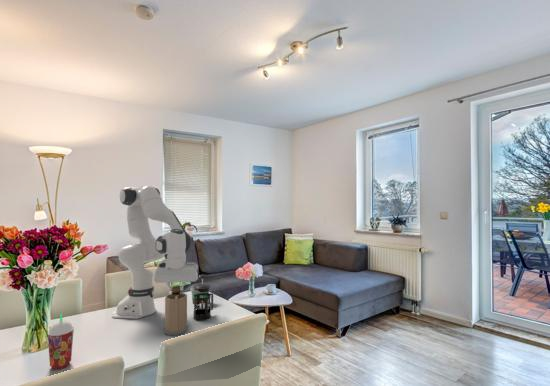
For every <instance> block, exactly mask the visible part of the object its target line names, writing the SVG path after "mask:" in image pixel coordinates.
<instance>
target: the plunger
mask: <svg viewBox="0 0 550 386" xmlns="http://www.w3.org/2000/svg"><path fill="white" fill-rule="evenodd" d="M171 287H172V291H171V292H172V293H171V294H173V295H175V299H177V295H178V294H180V293H181V291H180V287H181V285H179V284H175V285H172V286H171Z"/></svg>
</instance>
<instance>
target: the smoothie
mask: <svg viewBox="0 0 550 386" xmlns="http://www.w3.org/2000/svg"><path fill="white" fill-rule="evenodd" d="M59 315H60V316H59V317H60V318H59V320H58V321H56V322H54V323H53V324H52V326H50V328H49V330H48V332H47V342H48V343H47V344H48V356H49V358H48V359H49V366H50V367H51V369H52V370H61V368H62V369H64V368H67V367H69V365H70V362H71V361H72V355H73V343H74V342H73V341H74V340H73V339H74V329H75V328H74V326H73V325H72V323H71V322H70V321H69V320H65V319H63V313H60V314H59Z"/></svg>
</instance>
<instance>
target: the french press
mask: <svg viewBox="0 0 550 386" xmlns="http://www.w3.org/2000/svg"><path fill="white" fill-rule="evenodd" d="M204 277H207V274H200V275H198V278H201V283H200V284H196V285H194V286H193V287H194V288H195V290H198V291H199V292H201V293H199V294H195V295H194V304H193V318H192V319H193V320H194V321H196V322H203V321H204V322H205V321H207V320H210V319H211V318H212V315H211V314H212V313H211V312H212V311H213V310H214V293H212V292H210V291H211V285H210V284H208V283H207V284H206V283H205V284H204V282H203V281H204ZM208 291H209V293H203V292H208ZM201 295H202V298H200V296H201ZM203 295H206V296H208V297H206V298H203ZM196 297H197V298H196ZM196 300H197V304H196ZM203 300H205V303H203ZM200 301H202V303H200Z"/></svg>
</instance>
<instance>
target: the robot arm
mask: <svg viewBox="0 0 550 386" xmlns="http://www.w3.org/2000/svg"><path fill="white" fill-rule="evenodd" d="M119 200H120V202H121V204H123V205H125V206H127V207H126V208H127V209H126V221H127V227H128V234H129V236H130V237H131V238H132V239H136V240H137V241H138V242H139V243H136V244H135V243H134V244H129V245H125V246H123V247H121V248H120V250H119V252H118V254H117V255H118V260H119V262H120V263H121V264H122V265H124V266H125V267H126V268H127V269H128V271H129V272H130V275H131V287H129V289H128V291H127V294H128V295H126V296H125V297H124V298H123V299H121V300H120V301H119V302H118V304H117V306H116V310H114V311H113V312H112V313H111V318H113V319H132V320H133V319H140V318H143V317H147V316H151V315H152V314H154V313H156V312H157V309H156V305H155V300H154V296H155V286H154V282H155V283H156V284H159V283H161V284H162V283H166V286H167V288H168V292H172V287H173V286H171V283H181V284H182V286H180V292H183V291H184V287H185V286H186V283H192V282H193V283H195V282H196V281H197V280H198V279H199V275H198V270H199V265H198V263H196V262H195V261H192V262H189V261H188V262H187V255H186V253H187V252H188V251H190V249H191V248H192V246H193V239H192V237H191V235H190V234H189V233H188V232H187V231H186V229H185V228H184V226H183V225H182V223H181V221H180V220H179V219H178V216H177V215H176V214H175V212H174V211H173V210H171V209H170V208H169V207H167V206H166V203H164V201H163V199H162V197H161V192H160V190H159V189H158V188H156V187H154V186H151V185H149V186H126V187H123V188H122V189H121V190H120V193H119ZM149 219H150V220H152V221H157V222H161V223H164V224H167V225H168V226H169V227H170V229H169V230H168V232H167V233H165V234H163V235H160V236H158V237H157V238H155V237H154V234H152V231H151V228H150V227H151V226H150V223H149ZM166 255H167V256H166ZM165 256H166V259H164V260H163V258H164V257H165ZM159 260H161V261H159ZM156 261H159V262H158V263H156V269H155V271H154V273H153V271H152V270H150V269H148V268H146V267H145V266H144V264H145V263H150V262H156Z"/></svg>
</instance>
